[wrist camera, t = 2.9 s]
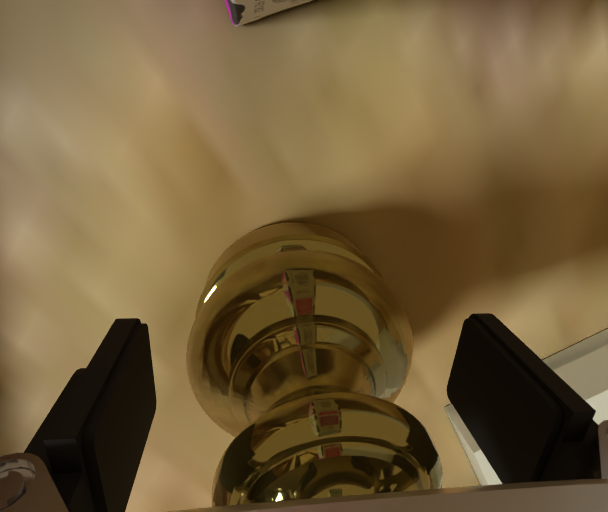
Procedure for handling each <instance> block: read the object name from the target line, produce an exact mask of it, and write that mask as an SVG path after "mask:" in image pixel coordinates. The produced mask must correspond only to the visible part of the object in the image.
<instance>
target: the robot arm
mask: <svg viewBox="0 0 608 512" xmlns="http://www.w3.org/2000/svg"><path fill="white" fill-rule="evenodd" d="M447 395H448V398H449V400H450V402H451V403H452V405H453V406H454V408H455V410H456V411H457V413H458V414H459V416H460V418H461V419H462V421H463V422H464V424H465V425H466V427H467V429H468V430H469V432H470V433H471V435H472V437H473V438H474V440H475V441H476V443H477V444H478V446H479V448H480V449H481V451H482V452H483V454H484V456H485V457H486V459H487V460H488V462H489V463H490V465H491V467H492V468H493V470H494V471H495V473H496V475H497V476H498V478H499V479H500V481H501V482H502V484H496V485H482V486H468V487H454V488H441V489H428V490H415V491H402V492H389V493H376V494H363V495H350V496H338V497H325V498H313V499H301V500H289V501H277V502H265V503H253V504H242V505H230V506H218V507H208V508H198V509H188V510H179V511H169V512H608V420H605V421H603V422H601V423H600V424H599V425H598V424H597V423H596V422H595V421H594V420H593V417H594V415H595V413H596V410H595V409H593V408H592V407H591V406H590V405H589V404H588V403H587V402H586V401H585V400H584V399H583V398H582V397H581V396H580V395H579V394H577V393H576V392H575V391H574V390H573V389H572V388H571V387H570V386H569V385H568V384H567V383H566V382H565V381H564V380H563V379H561V378H560V377H559V376H558V375H557V374H556V373H555V372H554V371H553V370H552V369H551V368H550V367H549V366H548V365H547V364H545V363H544V362H543V361H542V360H541V359H540V358H539V357H538V356H537V355H536V354H535V353H534V352H533V351H532V350H531V349H529V348H528V347H527V346H526V345H525V344H524V343H523V342H522V341H521V340H520V339H519V338H518V337H517V336H516V335H515V334H513V333H512V332H511V331H510V330H509V329H508V328H507V327H506V326H505V325H504V324H503V323H502V322H501V321H500V320H499V319H497V318H496V317H495V316H494V315H493V314H471V315H470V316H469V318H468V319H466V320H465V321H464V323H463V327H462V331H461V335H460V338H459V342H458V346H457V350H456V354H455V358H454V362H453V366H452V369H451V373H450V377H449V381H448V385H447ZM155 410H156V392H155V384H154V375H153V367H152V358H151V349H150V341H149V332H148V326H147V324H141V322H140V319H138V318H131V319H116V320H115V321H114V323H113V325H112V326H111V328H110V330H109V331H108V333H107V335H106V336H105V338H104V340H103V341H102V343H101V345H100V346H99V348H98V350H97V351H96V353H95V355H94V356H93V358H92V360H91V361H90V363H89V365H88V366H87V368H80V369H78V370H76V372H75V373H74V374H73V376H72V377H71V379H70V380H69V382H68V383H67V385H66V387H65V388H64V390H63V391H62V393H61V395H60V396H59V398H58V399H57V401H56V402H55V404H54V406H53V407H52V409H51V410H50V412H49V414H48V415H47V417H46V418H45V420H44V421H43V423H42V425H41V426H40V428H39V429H38V431H37V432H36V434H35V436H34V437H33V439H32V440H31V442H30V444H29V445H28V447H27V448H26V450H25V451H24V453H14V454H10V455H5V456H2V457H0V512H125V510H126V506H127V503H128V500H129V497H130V493H131V490H132V487H133V483H134V480H135V477H136V474H137V470H138V467H139V464H140V460H141V457H142V454H143V451H144V447H145V444H146V441H147V437H148V434H149V431H150V427H151V424H152V421H153V418H154V414H155Z"/></svg>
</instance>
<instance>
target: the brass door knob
mask: <svg viewBox="0 0 608 512" xmlns="http://www.w3.org/2000/svg"><path fill="white" fill-rule="evenodd" d="M412 355H413V336H412V330H411V325H410V321H409V318H408V315H407V313H406V310H405V308H404V306H403V304H402V303H401V301H400V299H399V298H398V297H397V295H396V294H395V293H394V291H393V290H392V289H391V288H390V287H389V285H388V284H387V283H386V282H385V281H384V279H383V278H382V276H381V274H380V273H379V271H378V270H377V269H376V267H375V266H374V265H373V264H372V263H371V262H370V261H369V260H368V259H367V258H366V257H365V256H364V255H363V253H362V252H361V251H360V250H359V249H358V248H357V247H356V246H355V245H354V244H353V243H352V242H351V241H350V240H348V239H347V238H346V237H344V236H343V235H341V234H339V233H337V232H335V231H333V230H331V229H329V228H326V227H323V226H319V225H316V224H310V223H302V222H286V223H278V224H273V225H269V226H265V227H262V228H259V229H257V230H255V231H252V232H250V233H248V234H247V235H245V236H243V237H241V238H240V239H239V240H237V241H236V242H234V243H233V244H232V245H231V246H230V247H229V248H227V249H226V250H225V251H224V253H223V254H222V255H221V256H220V257H219V258H218V260H217V261H216V263H215V264H214V266H213V268H212V269H211V271H210V274H209V276H208V278H207V281H206V284H205V288H204V290H203V292H202V295H201V297H200V300H199V303H198V306H197V311H196V317H195V321H194V324H193V326H192V329H191V332H190V336H189V340H188V344H187V353H186V364H187V373H188V378H189V382H190V385H191V388H192V391H193V393H194V395H195V397H196V399H197V401H198V402H199V404H200V406H201V407H202V409H203V410H204V411H205V413H206V414H207V415H208V416H209V417H210V418H211V420H212V421H214V422H215V423H216V424H217V425H218V426H219V427H220V428H222V429H223V430H224V431H226V432H227V433H229V434H230V435H232V436H234V437H236V438H235V439H234V440H233V441H232V443H231V444H230V445H229V447H228V448H227V449H226V451H225V452H224V454H223V456H222V458H221V460H220V462H219V464H218V467H217V469H216V472H215V476H214V479H213V485H212V507H218V506H230V505H242V504H253V503H265V502H277V501H289V500H301V499H313V498H325V497H338V496H350V495H363V494H376V493H389V492H402V491H415V490H428V489H441V487H442V476H443V474H442V466H441V461H440V458H439V455H438V452H437V450H436V447H435V444H434V442H433V440H432V438H431V436H430V435H429V433H428V432H427V430H426V429H425V427H424V426H423V425H422V424H421V423H420V422H419V421H418V420H417V419H416V418H415V417H414V416H413V415H412V414H410V413H409V412H407V411H406V410H405V409H403V408H401V407H400V406H398V405H396V404H394V403H393V402H394V401H395V400H396V398H397V397H398V395H399V393H400V392H401V390H402V388H403V386H404V384H405V382H406V379H407V377H408V374H409V371H410V367H411V362H412Z"/></svg>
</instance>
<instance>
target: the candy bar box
mask: <svg viewBox="0 0 608 512" xmlns="http://www.w3.org/2000/svg"><path fill="white" fill-rule="evenodd" d="M311 1H314V0H225V4H226V7H227V9H228V12H229V15H230V18H231V21H232V24H233V25H234V26H235V27H237V26H240V25H243V24H246V23H249V22H252V21H255V20H258V19H261V18H264V17H267V16H269V15H273V14H276V13H278V12H281V11H284V10H287V9H290V8H292V7H295V6H299V5H302V4H305V3H308V2H311Z"/></svg>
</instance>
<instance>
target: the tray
mask: <svg viewBox="0 0 608 512" xmlns="http://www.w3.org/2000/svg"><path fill="white" fill-rule="evenodd" d="M542 361H543V362H544V363H545V364H547V365H548V366H549V367H550V368H551V369H552V370H553V371H554V372H555V373H556V374H557V375H558V376H559V377H560V378H561V379H563V380H564V381H565V382H566V383H567V384H568V385H569V386H570V387H571V388H572V389H573V390H574V391H575V392H576V393H577V394H579V395H580V396H581V397H582V398H583V399H584V400H585V401H586V402H587V403H588V404H589V405H590V406H591V407H592V408H593V409H595V410H596V413H595V415H594V417H593V420H594V421H595V422H596V423H597V424H598V425H599V424H600V423H601V422H603V421H605V420H608V329H606V330H604V331H602V332H600V333H598V334H595V335H593V336H591V337H589V338H587V339H585V340H583V341H581V342H579V343H577V344H575V345H573V346H571V347H568V348H566V349H564V350H562V351H560V352H558V353H556V354H554V355H552V356H550V357H548V358H546V359H544V360H542ZM445 410H446V412H447V414H448V416H449V418H450V420H451V422H452V424H453V427H454V429H455V431H456V433H457V435H458V437H459V439H460V442H461V444H462V446H463V448H464V450H465V452H466V454H467V456H468V459H469V461H470V463H471V465H472V467H473V469H474V471H475V474H476V476H477V478H478V480H479V482H480V484H481V486H482V485H496V484H502V482H501V481H500V479H499V478H498V476H497V475H496V473H495V471H494V470H493V468H492V467H491V465H490V463H489V462H488V460H487V459H486V457H485V456H484V454H483V452H482V451H481V449H480V448H479V446H478V444H477V443H476V441H475V440H474V438H473V437H472V435H471V433H470V432H469V430H468V429H467V427H466V425H465V424H464V422H463V421H462V419H461V418H460V416H459V414H458V413H457V411H456V410H455V408H454V406H453V405H452V404H450V405H448V406H446V407H445Z"/></svg>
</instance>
